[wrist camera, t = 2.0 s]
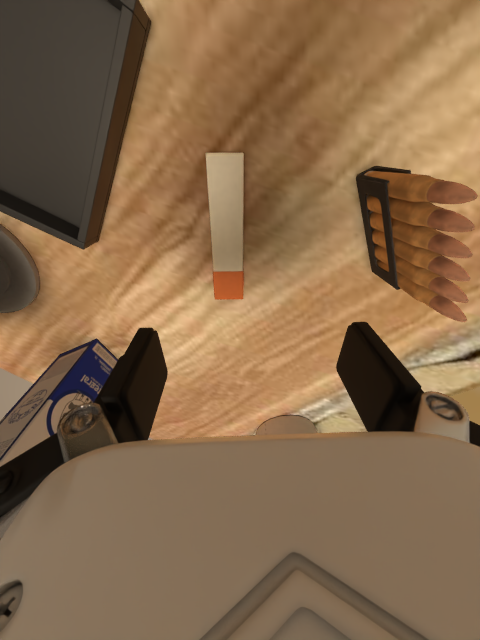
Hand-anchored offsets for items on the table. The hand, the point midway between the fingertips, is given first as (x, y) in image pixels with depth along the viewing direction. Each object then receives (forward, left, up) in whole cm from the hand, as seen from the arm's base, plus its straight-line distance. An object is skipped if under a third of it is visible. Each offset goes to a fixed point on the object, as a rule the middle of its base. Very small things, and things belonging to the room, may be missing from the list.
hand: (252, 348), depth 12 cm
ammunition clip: (-9, +11, -17) cm, 22 cm away
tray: (-2, -20, -17) cm, 26 cm away
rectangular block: (-1, -2, -17) cm, 17 cm away
